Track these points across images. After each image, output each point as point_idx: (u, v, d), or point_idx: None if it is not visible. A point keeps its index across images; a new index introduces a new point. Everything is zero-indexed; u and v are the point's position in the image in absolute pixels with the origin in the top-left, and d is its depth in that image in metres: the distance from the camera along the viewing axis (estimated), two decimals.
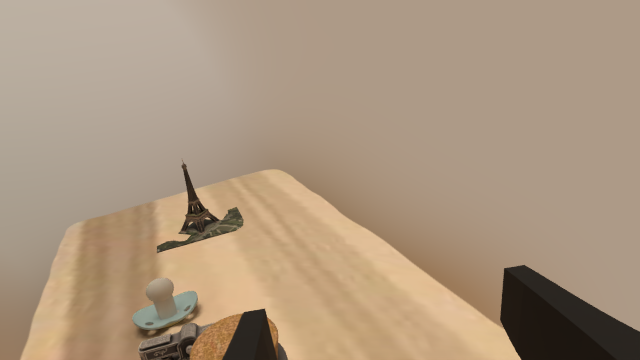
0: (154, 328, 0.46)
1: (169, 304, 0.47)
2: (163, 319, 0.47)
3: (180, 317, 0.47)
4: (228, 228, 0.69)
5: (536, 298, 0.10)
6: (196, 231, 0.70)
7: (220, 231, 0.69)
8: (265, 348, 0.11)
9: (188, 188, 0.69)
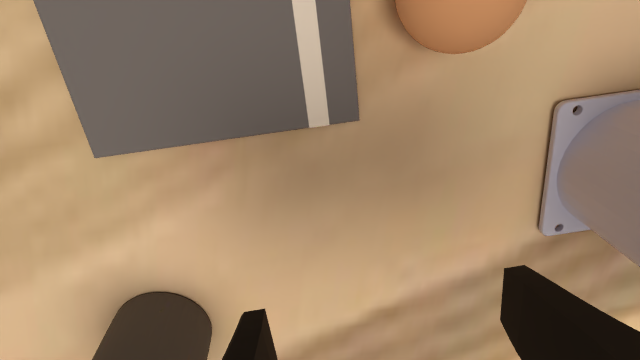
0: None
1: None
2: None
3: None
4: None
5: (536, 298, 0.10)
6: None
7: None
8: (265, 348, 0.11)
9: None
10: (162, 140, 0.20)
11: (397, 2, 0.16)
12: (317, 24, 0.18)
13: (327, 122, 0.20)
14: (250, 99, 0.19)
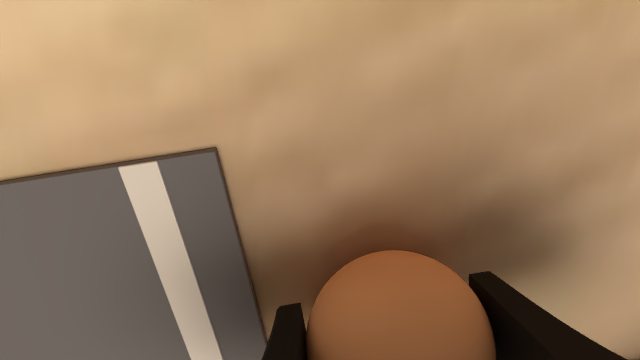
0: None
1: None
2: None
3: None
4: None
5: (496, 305, 0.10)
6: None
7: None
8: (304, 341, 0.11)
9: None
10: None
11: None
12: (215, 336, 0.13)
13: None
14: None
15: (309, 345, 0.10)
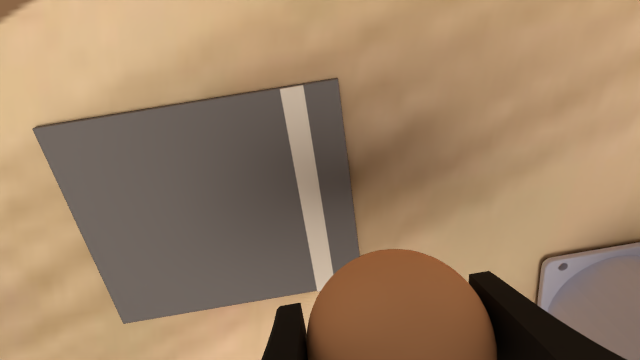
0: None
1: None
2: None
3: None
4: None
5: (496, 305, 0.10)
6: None
7: None
8: (304, 341, 0.11)
9: None
10: (184, 307, 0.22)
11: None
12: (323, 213, 0.20)
13: None
14: (263, 272, 0.21)
15: (309, 344, 0.10)
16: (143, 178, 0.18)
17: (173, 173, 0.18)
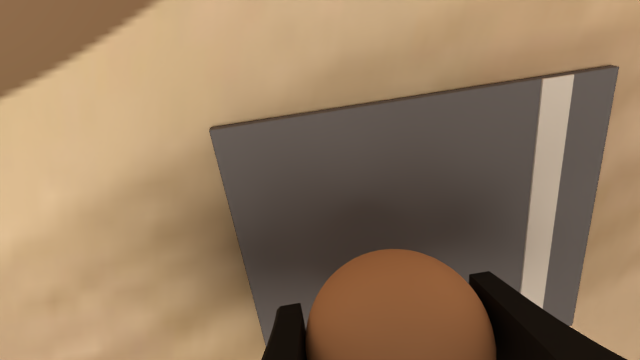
0: None
1: None
2: None
3: None
4: None
5: (496, 306, 0.10)
6: None
7: None
8: (304, 341, 0.11)
9: None
10: None
11: None
12: (550, 241, 0.15)
13: None
14: None
15: (308, 344, 0.10)
16: (338, 196, 0.14)
17: (378, 190, 0.14)
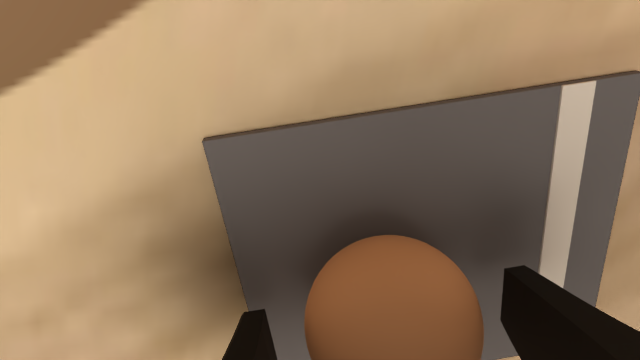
0: None
1: None
2: None
3: None
4: None
5: (536, 298, 0.10)
6: None
7: None
8: (265, 348, 0.11)
9: None
10: None
11: None
12: (566, 256, 0.15)
13: None
14: None
15: (307, 324, 0.11)
16: (342, 211, 0.13)
17: (384, 204, 0.13)
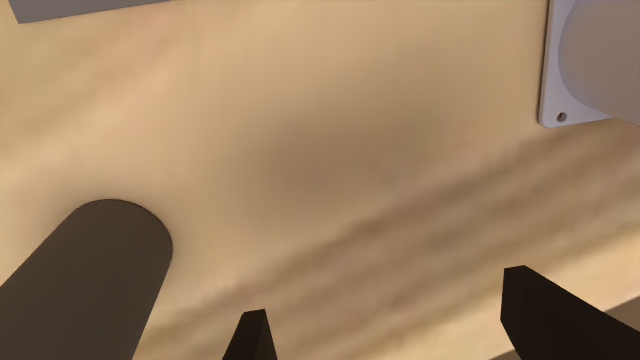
0: None
1: None
2: None
3: None
4: None
5: (536, 298, 0.10)
6: None
7: None
8: (265, 348, 0.11)
9: None
10: (95, 0, 0.17)
11: None
12: None
13: None
14: None
15: None
16: None
17: None
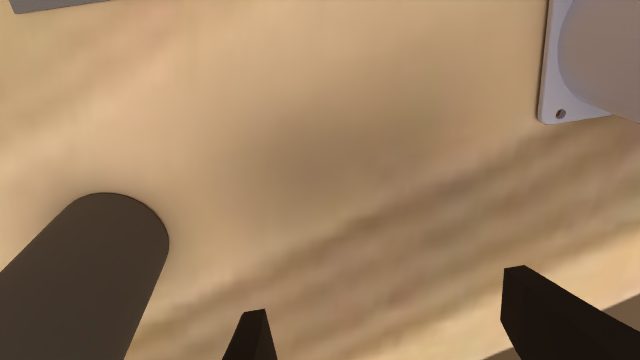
0: None
1: None
2: None
3: None
4: None
5: (536, 298, 0.10)
6: None
7: None
8: (265, 348, 0.11)
9: None
10: None
11: None
12: None
13: None
14: None
15: None
16: None
17: None
